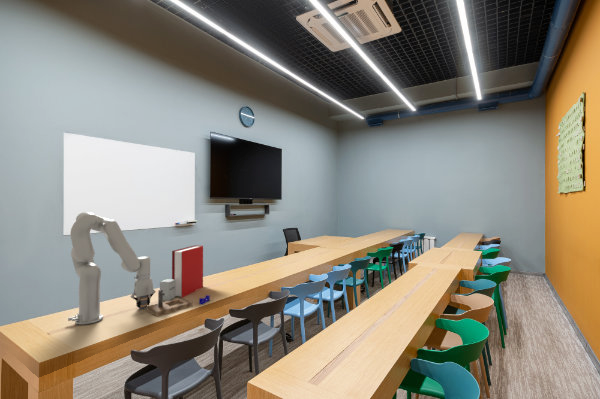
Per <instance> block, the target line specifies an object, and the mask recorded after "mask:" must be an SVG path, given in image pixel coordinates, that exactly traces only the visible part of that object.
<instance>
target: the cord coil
mask: <svg viewBox="0 0 600 399" xmlns="http://www.w3.org/2000/svg"><path fill="white" fill-rule="evenodd" d="M147 299H148V297H147V295H146V296H141V297H140V308H138V309H139V310H145V309H147V306H149V305H148V303H147Z"/></svg>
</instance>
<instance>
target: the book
mask: <svg viewBox="0 0 600 399" xmlns="http://www.w3.org/2000/svg"><path fill="white" fill-rule="evenodd" d="M171 279H175V297H180V298H184V297H186V296H188V295H190V294H192V293H195V292H196V291H198V290H200V289H202V288H204V245H199V244H198V245H197V244H195V245H191V246H190V245H189V246H187V247H183V248H178V249H175V250H172V251H171Z"/></svg>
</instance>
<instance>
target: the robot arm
mask: <svg viewBox="0 0 600 399" xmlns="http://www.w3.org/2000/svg"><path fill="white" fill-rule="evenodd" d="M92 230H93V231H96V232H100V233H103V234H104V237H105V238H106V241H107V242H108V244H109V246H110V247H111V249H112V250H113V251H114V253H116V254H117V256H119V258H120V259H121V260H122V261H121V264H120V265H121V268H122V269H123V270H125V271H127V272H129V273H136V275H135V276H133V278H134V279H135V281H134V286H133V292H132V293H131V295H130V296H129V298H131V299H133V300H135V301H136V307H137V308H138V309H139V308H140V297H141V296H146V295H147V297H148V299H147V303H148V305H147V306H150V303H151V299H152V297H153V295H154V294H156V293H157V292H156V290H155V289H154V285H153V284H154V283H153V279H152V277H151V257H150V256H139V257H138V256H137V254H136V253H135V251H134V250H133V248H132V246H131V245H130V243H129V242H128V241H127V238H126V237H125V235H124V233H123V231H122V229H121V227H120V225H119V224H118V222H117V221H116V220H115V219H109V218H106V217H101V216H99V215H96V214H95V213H93V212H90V211H89V212H88V211H84V212H81V213H79V214H77V216H76V217H75V222H74V223H73V224H72V226H71V228H70V234H69V235H70V240H71V244H72V248H71V252H70V255H71V256H70V257H71V260H72V263H73V267H74V270H75V273H76V275H77V276H78V277H79V283H78V284H79V285H78V313H76V315H75V316H69V317H67V322H75V324H76V325H90V324H94V323H97V322H100V321H101V320H103V318H104V315H103V314H101V298H100V297H101V290H100V289H101V278H102V277H101V276H102V271H101V268H100V266H99V265H98V264H96V262H95V261H94V257H95V249H94V245H93V242H92V238H91V231H92Z"/></svg>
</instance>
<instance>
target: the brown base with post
mask: <svg viewBox="0 0 600 399" xmlns="http://www.w3.org/2000/svg"><path fill="white" fill-rule="evenodd" d="M157 292H158V293H157V295H158V297H157V298H158V302H157V303H154V304H151V305H150V304H149V305H147V308H146V309H147V311H148V312H149V313H151V314H152V315H154V316H156V317H159V316H163V315H166V314H170V313H174V312H176V311H179V310H182V309H186V308H190V307H193V302H192V301H191V300H188V299H187V298H184V297H179V298H178V297H177V298H173V299H171V300H169V301H164V300H163V295H165V293H163V290H160V289H158V291H157Z"/></svg>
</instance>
